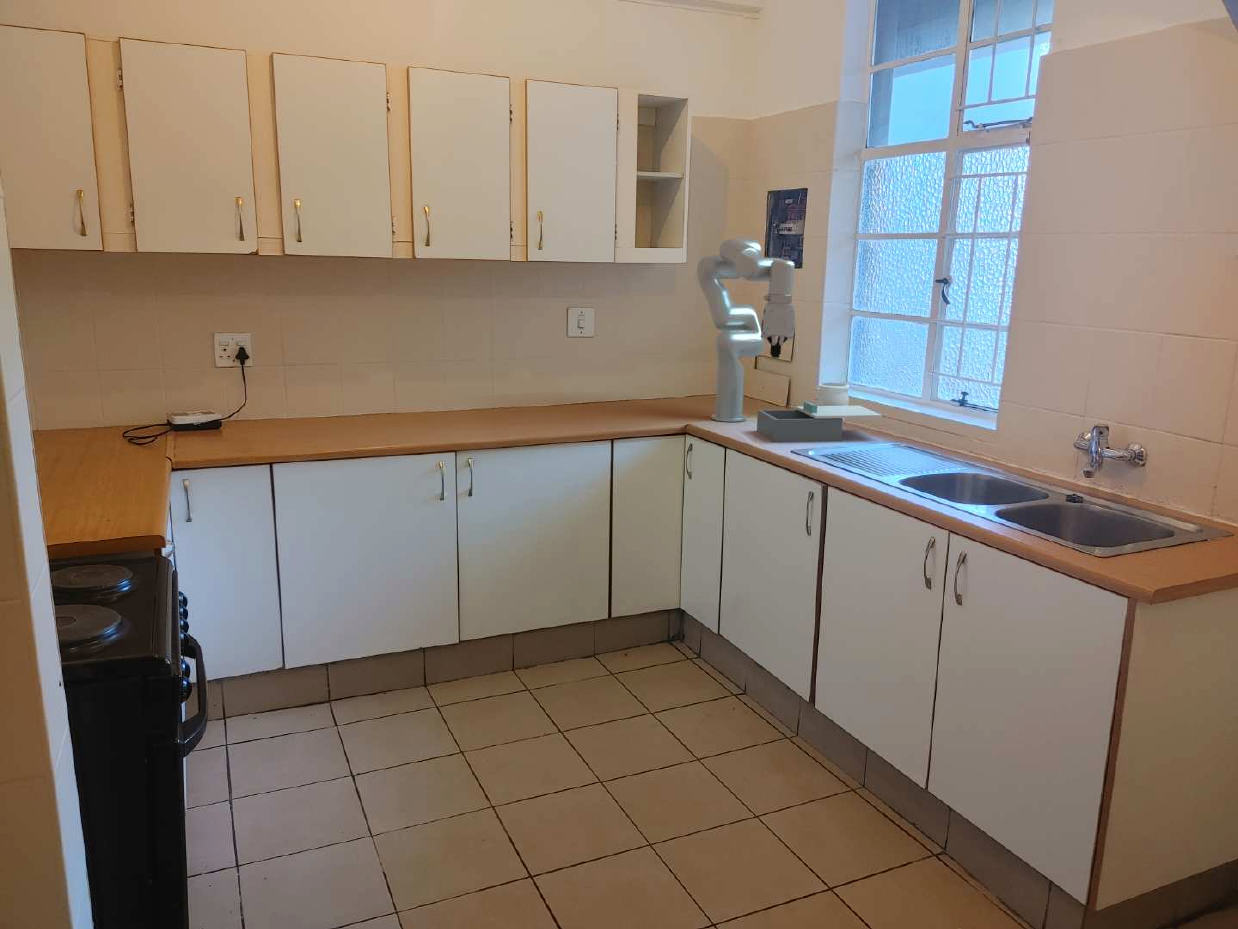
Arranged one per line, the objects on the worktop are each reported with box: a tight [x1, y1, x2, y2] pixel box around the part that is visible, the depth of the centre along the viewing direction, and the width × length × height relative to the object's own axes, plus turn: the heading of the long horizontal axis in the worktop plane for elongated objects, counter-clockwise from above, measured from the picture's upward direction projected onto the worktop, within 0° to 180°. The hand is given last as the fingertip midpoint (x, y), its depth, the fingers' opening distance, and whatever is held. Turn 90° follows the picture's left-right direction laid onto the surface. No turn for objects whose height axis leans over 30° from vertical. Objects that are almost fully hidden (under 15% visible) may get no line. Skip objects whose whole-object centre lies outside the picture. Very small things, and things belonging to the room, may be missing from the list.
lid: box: [795, 401, 883, 419], centre depth 295 cm, size 18×22×3 cm
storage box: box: [756, 409, 844, 443], centre depth 295 cm, size 18×22×8 cm
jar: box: [816, 382, 850, 428], centre depth 313 cm, size 11×10×15 cm
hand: (775, 356), depth 297 cm, fingers closed
